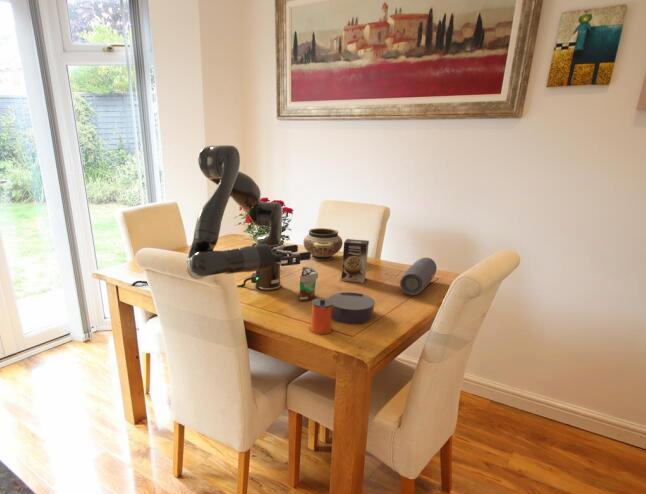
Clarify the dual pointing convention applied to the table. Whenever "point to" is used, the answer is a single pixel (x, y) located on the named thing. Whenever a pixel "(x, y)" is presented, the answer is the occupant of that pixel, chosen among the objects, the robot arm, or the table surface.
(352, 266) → the coffee box
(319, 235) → the ceramic bowl
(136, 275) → the table surface
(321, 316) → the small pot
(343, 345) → the table surface
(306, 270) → the food container
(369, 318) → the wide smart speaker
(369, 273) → the table surface
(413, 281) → the bluetooth speaker
